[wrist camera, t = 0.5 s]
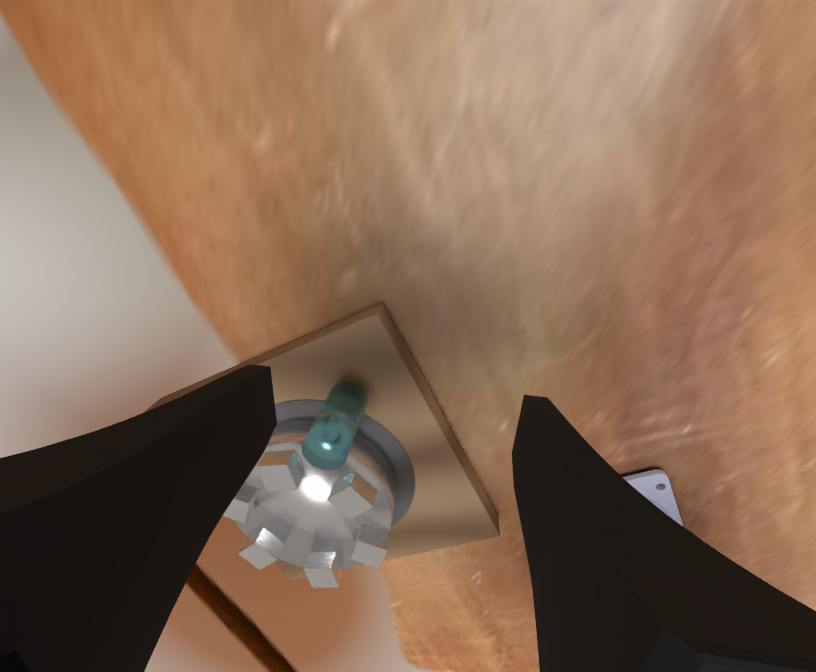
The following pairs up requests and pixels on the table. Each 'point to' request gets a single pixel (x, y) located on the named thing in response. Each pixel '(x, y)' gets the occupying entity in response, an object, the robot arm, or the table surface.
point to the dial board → (383, 428)
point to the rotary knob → (319, 494)
